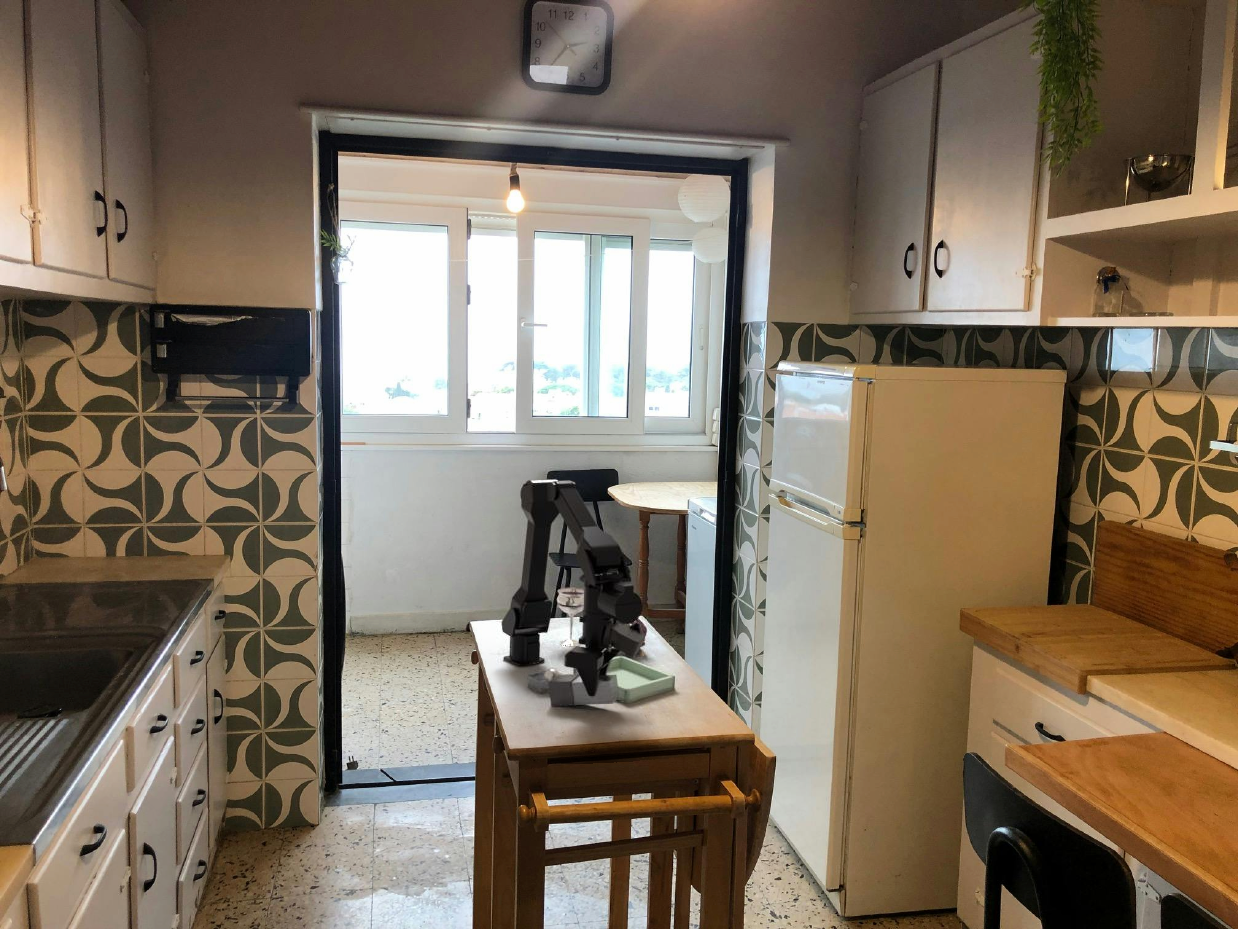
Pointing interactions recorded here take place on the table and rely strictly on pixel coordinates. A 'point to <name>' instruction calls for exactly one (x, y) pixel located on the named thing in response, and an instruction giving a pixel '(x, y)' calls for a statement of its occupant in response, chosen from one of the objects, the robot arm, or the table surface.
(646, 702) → the table surface
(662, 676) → the tray
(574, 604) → the wineglass
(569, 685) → the strut
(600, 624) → the robot arm
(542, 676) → the stud mount
